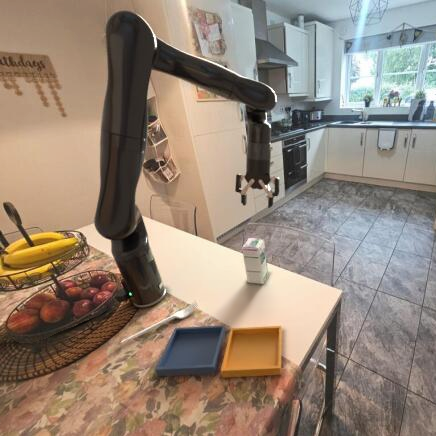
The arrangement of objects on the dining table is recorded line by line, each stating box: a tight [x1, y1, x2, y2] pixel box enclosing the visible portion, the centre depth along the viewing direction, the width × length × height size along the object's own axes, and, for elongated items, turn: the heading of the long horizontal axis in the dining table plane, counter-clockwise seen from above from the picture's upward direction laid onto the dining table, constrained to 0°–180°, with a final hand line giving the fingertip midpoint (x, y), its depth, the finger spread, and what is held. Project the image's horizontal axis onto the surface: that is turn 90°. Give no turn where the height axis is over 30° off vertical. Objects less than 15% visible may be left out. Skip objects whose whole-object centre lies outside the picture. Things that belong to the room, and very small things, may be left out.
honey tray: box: [220, 325, 283, 379], centre depth 59 cm, size 13×11×2 cm
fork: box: [120, 300, 199, 345], centre depth 68 cm, size 3×20×2 cm, turn 127°
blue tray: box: [154, 325, 227, 377], centre depth 60 cm, size 13×11×2 cm
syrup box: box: [241, 237, 269, 285], centre depth 82 cm, size 6×6×14 cm
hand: (257, 206), depth 82 cm, fingers open, 8 cm apart
